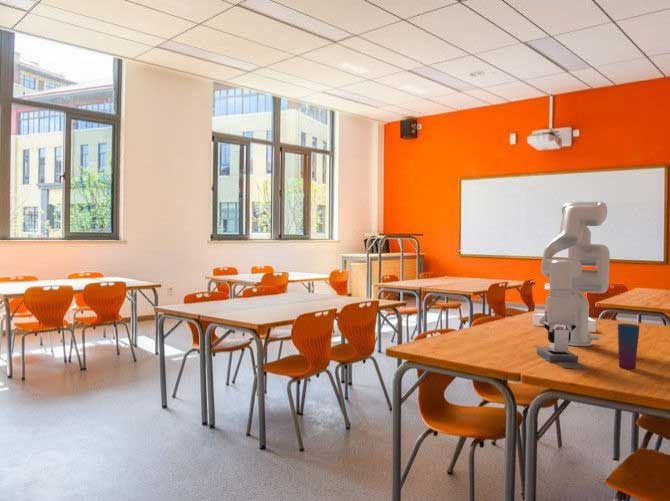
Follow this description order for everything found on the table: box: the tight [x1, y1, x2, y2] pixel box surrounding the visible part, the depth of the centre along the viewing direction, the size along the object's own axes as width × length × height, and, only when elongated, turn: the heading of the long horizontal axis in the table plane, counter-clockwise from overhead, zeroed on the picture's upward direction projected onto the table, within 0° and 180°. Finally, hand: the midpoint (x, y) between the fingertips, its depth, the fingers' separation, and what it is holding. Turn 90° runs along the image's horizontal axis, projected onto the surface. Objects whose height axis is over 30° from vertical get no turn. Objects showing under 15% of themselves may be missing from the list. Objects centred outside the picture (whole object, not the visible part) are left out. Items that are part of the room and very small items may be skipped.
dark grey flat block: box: [536, 346, 579, 363], centre depth 208 cm, size 10×15×3 cm, turn 177°
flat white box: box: [532, 313, 597, 334], centre depth 283 cm, size 30×26×6 cm
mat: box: [555, 362, 589, 370], centre depth 195 cm, size 8×8×1 cm
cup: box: [617, 322, 640, 370], centre depth 194 cm, size 7×7×15 cm
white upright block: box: [549, 327, 569, 352], centre depth 206 cm, size 5×5×9 cm
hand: (559, 341), depth 206 cm, fingers closed on white upright block, 5 cm apart
